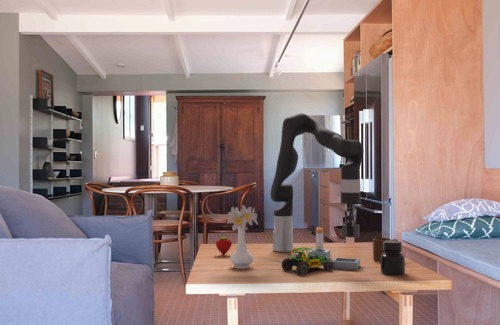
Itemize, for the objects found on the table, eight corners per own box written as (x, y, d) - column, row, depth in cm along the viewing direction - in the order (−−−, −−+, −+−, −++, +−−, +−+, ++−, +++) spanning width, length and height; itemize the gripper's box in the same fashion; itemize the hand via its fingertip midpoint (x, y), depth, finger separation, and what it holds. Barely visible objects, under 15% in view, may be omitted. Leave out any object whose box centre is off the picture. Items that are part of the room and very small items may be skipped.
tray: (331, 268, 185) (331, 261, 185) (335, 264, 193) (335, 257, 193) (357, 270, 181) (356, 262, 181) (359, 266, 189) (359, 258, 190)
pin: (315, 260, 203) (315, 228, 203) (316, 258, 206) (316, 227, 206) (322, 260, 202) (322, 228, 202) (324, 259, 205) (323, 227, 205)
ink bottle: (405, 271, 179) (404, 240, 179) (407, 276, 170) (407, 243, 171) (379, 270, 181) (378, 239, 181) (380, 275, 173) (379, 243, 173)
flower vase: (226, 272, 178) (225, 207, 179) (227, 263, 197) (226, 204, 197) (259, 272, 179) (259, 207, 179) (257, 263, 197) (257, 204, 198)
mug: (395, 258, 206) (395, 237, 207) (404, 261, 199) (403, 239, 199) (370, 259, 204) (370, 238, 204) (377, 262, 197) (377, 240, 197)
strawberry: (232, 255, 214) (232, 234, 215) (216, 256, 214) (215, 234, 214) (231, 253, 220) (231, 232, 221) (215, 254, 219) (215, 233, 220)
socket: (308, 260, 202) (308, 251, 202) (312, 257, 209) (312, 248, 209) (326, 261, 199) (326, 252, 199) (330, 258, 206) (330, 249, 206)
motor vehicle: (334, 271, 182) (333, 244, 182) (295, 277, 171) (295, 248, 172) (314, 266, 192) (314, 240, 192) (277, 271, 181) (276, 244, 181)
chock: (358, 237, 175) (358, 225, 175) (342, 237, 177) (342, 225, 177) (359, 236, 179) (359, 224, 179) (344, 235, 181) (343, 224, 181)
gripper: (357, 192, 170) (358, 238, 170) (362, 190, 183) (363, 233, 183) (337, 192, 173) (338, 237, 172) (343, 190, 186) (344, 233, 186)
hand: (350, 235), depth 178 cm, fingers closed on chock, 4 cm apart
